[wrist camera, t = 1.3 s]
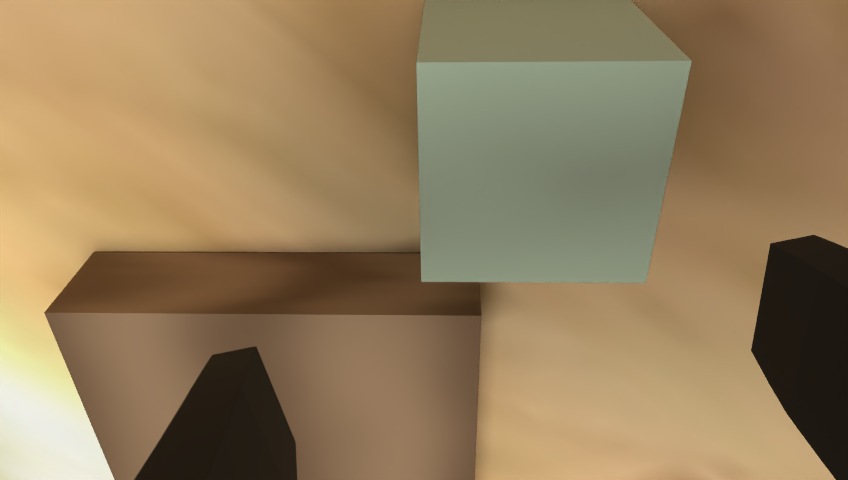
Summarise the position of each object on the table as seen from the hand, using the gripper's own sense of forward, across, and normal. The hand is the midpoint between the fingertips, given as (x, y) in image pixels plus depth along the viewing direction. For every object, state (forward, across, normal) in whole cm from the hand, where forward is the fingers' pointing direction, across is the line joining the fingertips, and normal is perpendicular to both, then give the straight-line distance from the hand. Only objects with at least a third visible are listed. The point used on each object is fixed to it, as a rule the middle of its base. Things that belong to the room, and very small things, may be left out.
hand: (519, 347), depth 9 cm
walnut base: (+10, +6, +10) cm, 16 cm away
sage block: (+10, -2, 0) cm, 10 cm away
